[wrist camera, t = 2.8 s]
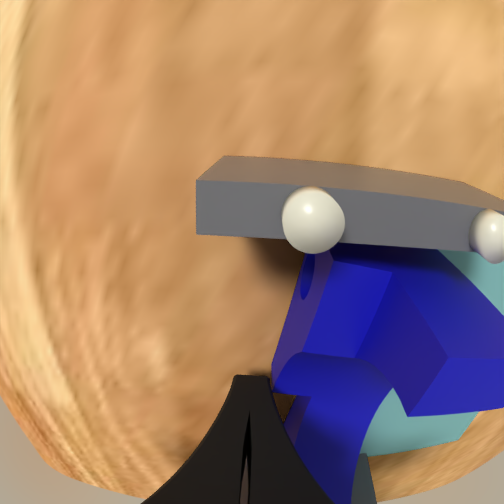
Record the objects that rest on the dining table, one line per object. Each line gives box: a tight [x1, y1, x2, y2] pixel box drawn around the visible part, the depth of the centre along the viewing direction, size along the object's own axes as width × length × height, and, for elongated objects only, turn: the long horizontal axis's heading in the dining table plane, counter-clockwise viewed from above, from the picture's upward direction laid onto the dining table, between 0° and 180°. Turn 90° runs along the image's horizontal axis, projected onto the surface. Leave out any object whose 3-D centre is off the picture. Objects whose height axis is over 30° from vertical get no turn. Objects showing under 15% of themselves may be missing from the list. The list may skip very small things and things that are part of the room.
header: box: [196, 156, 504, 504], centre depth 10 cm, size 8×16×5 cm, turn 178°
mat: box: [359, 249, 504, 457], centre depth 12 cm, size 8×15×1 cm, turn 178°
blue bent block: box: [272, 242, 504, 504], centre depth 9 cm, size 12×4×6 cm, turn 169°
